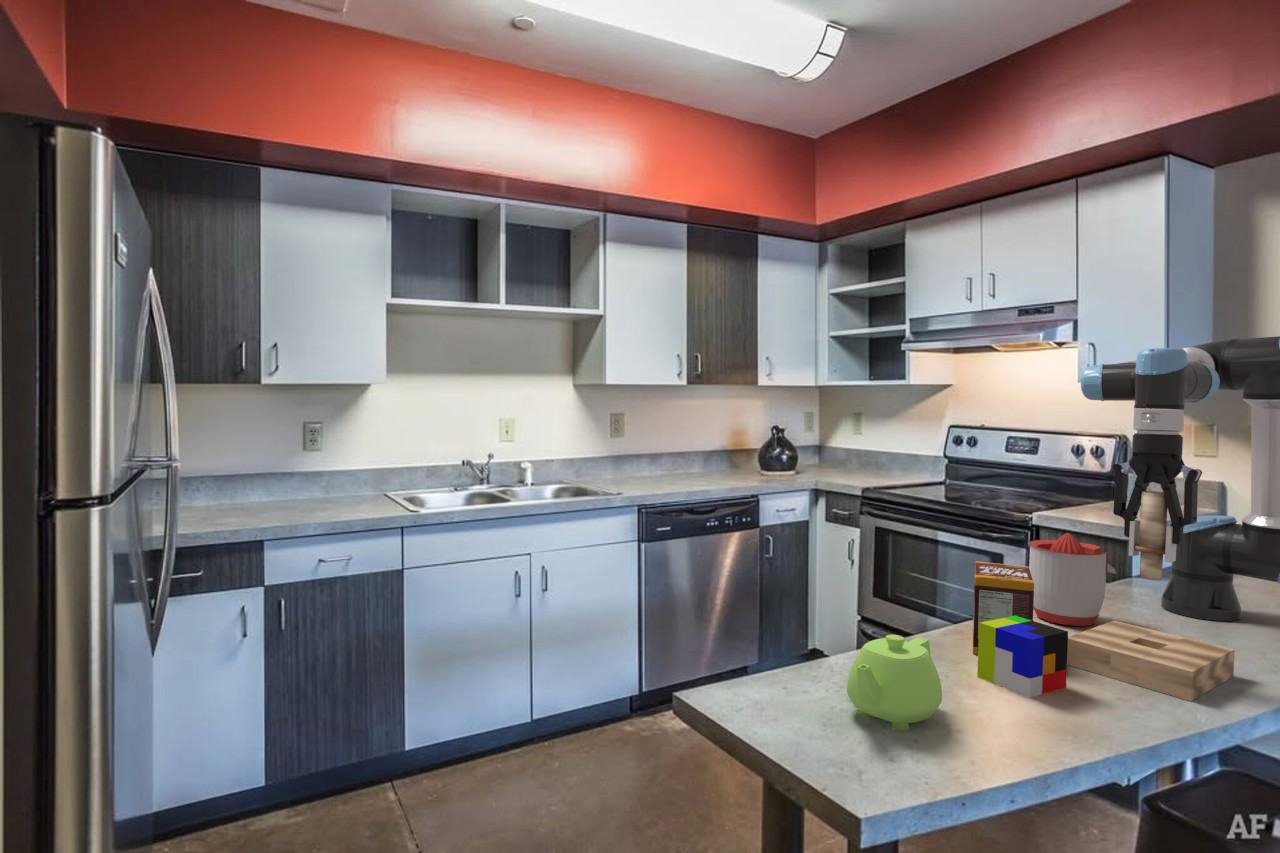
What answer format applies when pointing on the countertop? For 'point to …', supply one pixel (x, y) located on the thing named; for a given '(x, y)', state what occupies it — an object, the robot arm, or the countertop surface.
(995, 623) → the puzzle toy
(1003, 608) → the supplement box
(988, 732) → the countertop surface
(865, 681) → the teapot
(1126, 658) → the seat board
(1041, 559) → the citrus juicer
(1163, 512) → the leg peg
